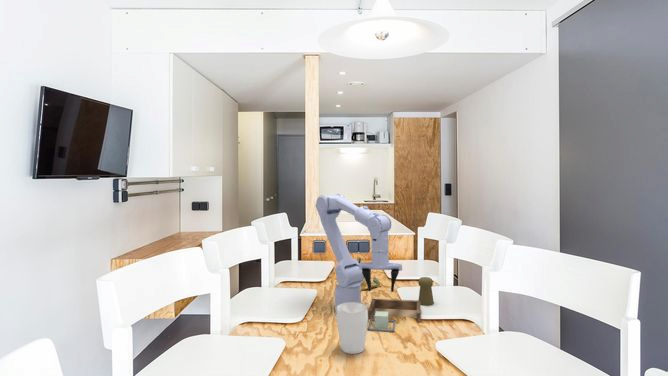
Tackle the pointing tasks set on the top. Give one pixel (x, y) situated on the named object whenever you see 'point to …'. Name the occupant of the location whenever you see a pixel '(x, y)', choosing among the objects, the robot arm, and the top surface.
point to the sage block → (381, 320)
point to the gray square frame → (381, 329)
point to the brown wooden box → (396, 308)
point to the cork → (425, 291)
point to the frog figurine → (364, 284)
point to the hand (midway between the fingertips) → (381, 290)
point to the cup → (352, 326)
